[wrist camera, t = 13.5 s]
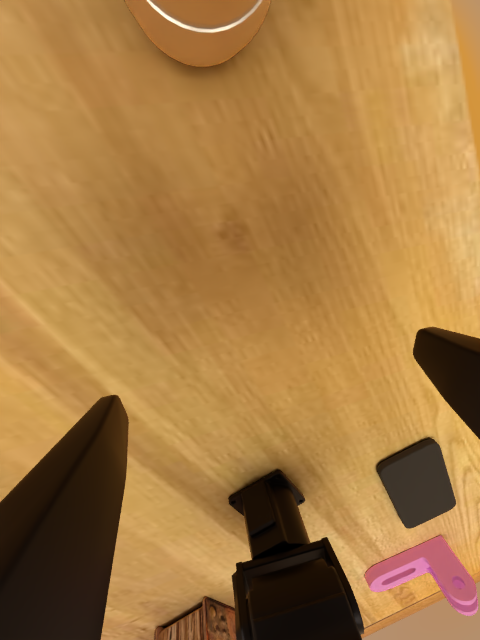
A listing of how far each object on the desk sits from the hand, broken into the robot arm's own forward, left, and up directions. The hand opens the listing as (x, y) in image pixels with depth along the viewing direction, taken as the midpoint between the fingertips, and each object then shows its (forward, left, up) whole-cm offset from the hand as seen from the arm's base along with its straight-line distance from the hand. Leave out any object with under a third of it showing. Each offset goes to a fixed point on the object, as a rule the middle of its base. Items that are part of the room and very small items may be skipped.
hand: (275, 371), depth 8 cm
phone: (-37, -5, -13) cm, 39 cm away
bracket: (-54, +2, -13) cm, 56 cm away
